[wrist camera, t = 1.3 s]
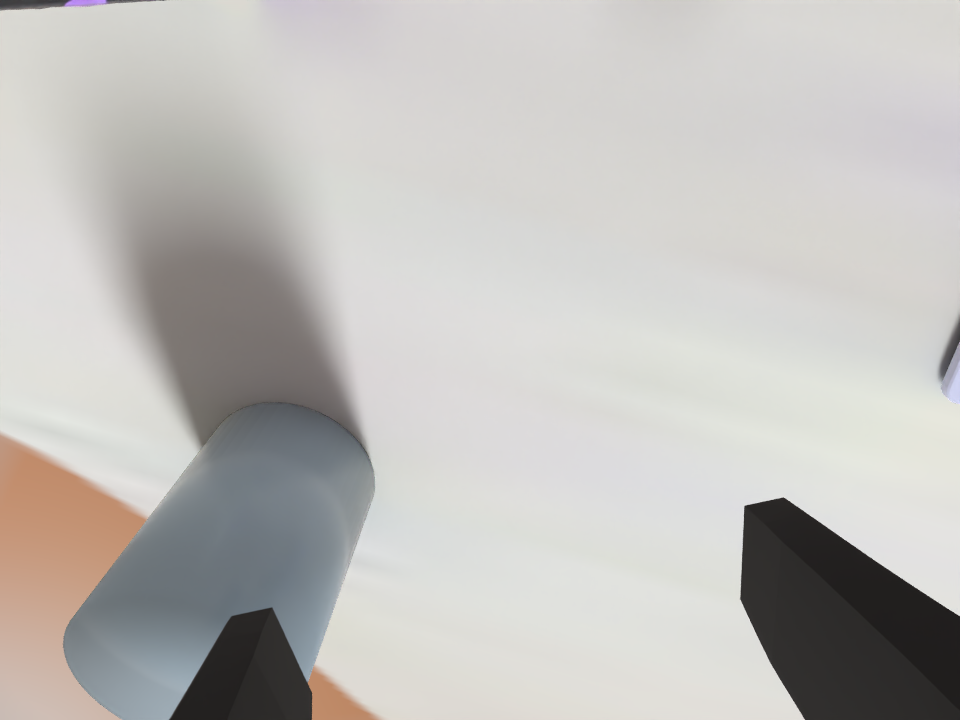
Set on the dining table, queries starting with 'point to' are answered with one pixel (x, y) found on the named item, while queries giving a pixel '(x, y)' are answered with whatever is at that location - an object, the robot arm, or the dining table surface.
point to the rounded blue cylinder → (226, 557)
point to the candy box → (56, 3)
